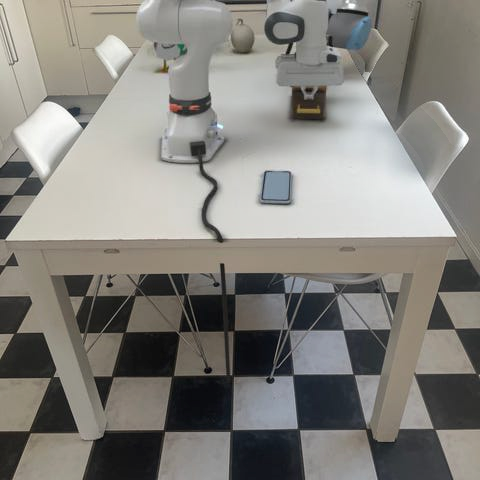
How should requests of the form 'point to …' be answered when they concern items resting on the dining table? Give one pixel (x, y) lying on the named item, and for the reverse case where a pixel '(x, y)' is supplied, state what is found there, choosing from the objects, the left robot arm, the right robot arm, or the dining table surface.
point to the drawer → (308, 105)
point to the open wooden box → (309, 88)
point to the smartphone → (276, 187)
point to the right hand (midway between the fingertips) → (308, 86)
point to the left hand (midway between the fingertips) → (308, 98)
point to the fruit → (242, 37)
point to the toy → (169, 52)
